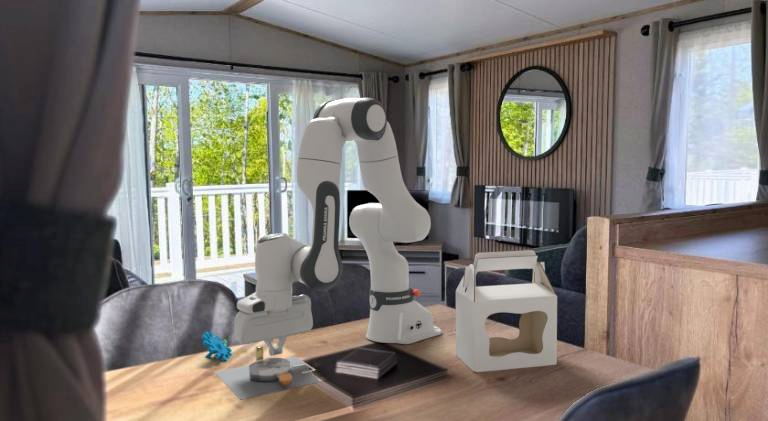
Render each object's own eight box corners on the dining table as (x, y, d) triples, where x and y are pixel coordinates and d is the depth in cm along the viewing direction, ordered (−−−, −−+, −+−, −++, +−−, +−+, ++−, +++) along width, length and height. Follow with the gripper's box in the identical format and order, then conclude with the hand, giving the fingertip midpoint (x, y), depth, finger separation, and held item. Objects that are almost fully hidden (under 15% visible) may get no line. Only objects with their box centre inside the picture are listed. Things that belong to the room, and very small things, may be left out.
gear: (225, 361, 145) (199, 332, 147) (209, 378, 146) (182, 349, 147) (241, 353, 156) (217, 326, 158) (226, 369, 157) (201, 342, 158)
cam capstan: (275, 361, 147) (275, 343, 146) (307, 384, 130) (306, 364, 130) (238, 368, 142) (238, 349, 141) (266, 393, 125) (265, 372, 125)
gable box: (473, 373, 140) (473, 257, 138) (454, 356, 153) (454, 249, 151) (557, 365, 145) (558, 253, 143) (532, 349, 158) (533, 246, 156)
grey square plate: (295, 360, 151) (295, 355, 151) (330, 383, 134) (330, 378, 134) (214, 376, 140) (214, 371, 140) (240, 404, 123) (240, 398, 123)
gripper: (304, 291, 153) (305, 343, 154) (230, 303, 141) (232, 359, 142) (317, 295, 148) (318, 348, 149) (241, 308, 136) (243, 366, 137)
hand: (275, 354), depth 145 cm, fingers closed
